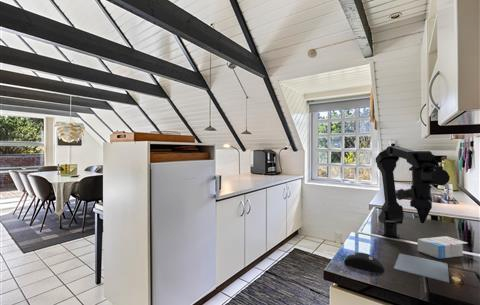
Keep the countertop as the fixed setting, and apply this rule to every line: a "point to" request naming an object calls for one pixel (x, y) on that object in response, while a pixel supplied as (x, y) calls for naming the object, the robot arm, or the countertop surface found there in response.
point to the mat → (422, 267)
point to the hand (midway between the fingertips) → (422, 222)
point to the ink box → (441, 247)
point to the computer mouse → (364, 262)
